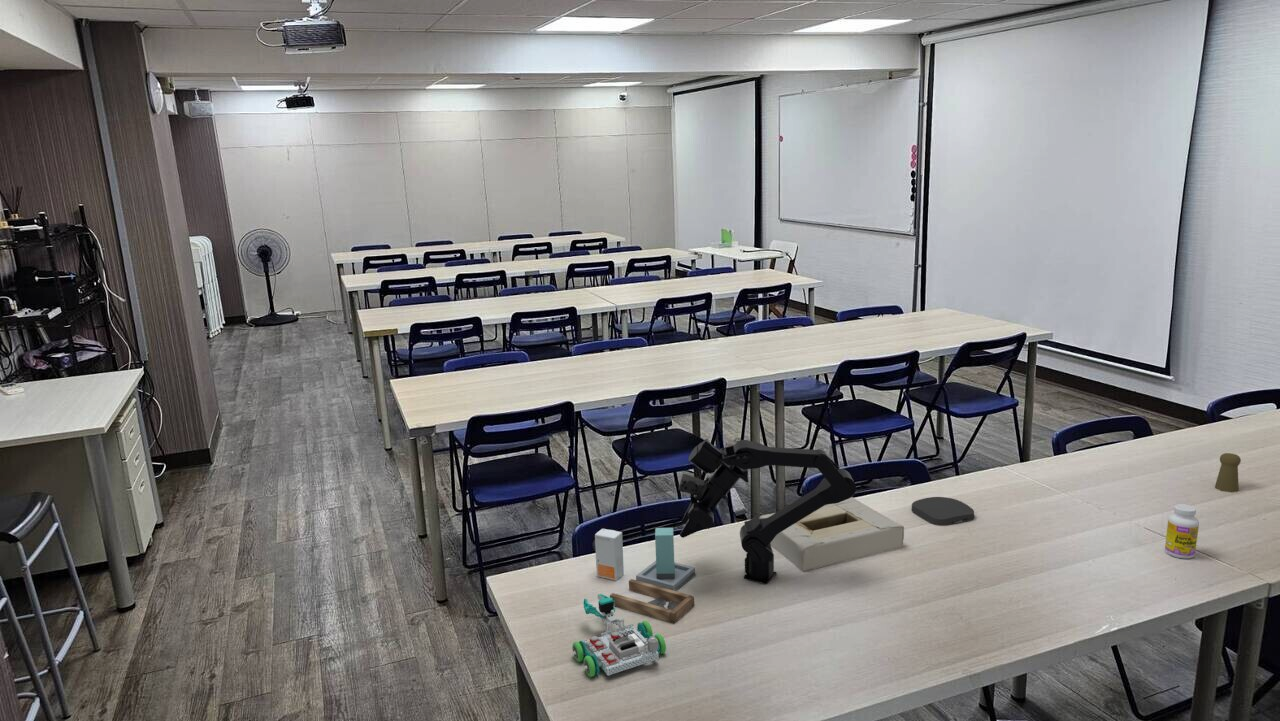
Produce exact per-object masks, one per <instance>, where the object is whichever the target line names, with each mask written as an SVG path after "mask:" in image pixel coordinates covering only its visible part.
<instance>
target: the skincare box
mask: <svg viewBox="0 0 1280 721" xmlns="http://www.w3.org/2000/svg"><path fill="white" fill-rule="evenodd" d="M594 545H595V546H594V547H595V566H596V577H598V578H603V579H608V580H611V581H616V582H617V581H618V580H619V579H620V578H621V577H622V576H624V574H625V573H624V572H625V571H624V570H625V568H624V547H623V532H622V531H618V530H614V529H606V528H601V529H600V530H599V531H596V533H595V534H594Z"/></svg>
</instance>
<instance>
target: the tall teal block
mask: <svg viewBox="0 0 1280 721" xmlns="http://www.w3.org/2000/svg"><path fill="white" fill-rule="evenodd" d="M654 531H655V532H654V533H655V534H654V537H655V538H654V543H655V561H656V577H657V579H658V580H663V579H675V565H674V562H675V545H674V544H675V543H674V542H675V541H674V540H675V539H674V527H655V530H654Z"/></svg>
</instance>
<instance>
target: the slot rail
mask: <svg viewBox="0 0 1280 721" xmlns="http://www.w3.org/2000/svg"><path fill="white" fill-rule="evenodd" d="M628 590H629V591H632V592H635V593H638V594H640V595H641V594H642V595H646V596H648V597H649V596H650V597H652V598H655V599H657V598H660V597H661V598H663V599H664V600H666V602H668V603H669V602H676V603H680V604H679V605H677V606H676V607H675V608H674V609H673V610H669V609H668V608H667V607H665V608H663V607H659V606H656V605H652V604H649V603H648V602H645V601H642V600H638V599H634V598H631V597H627V596H625V595H621V594H617V593H614V592H612V593H611V594H609V597H611V598H612V599H614V604H615V605H614V607H617V608H619V609H620V608H621V609H624V610H627V611H631V612H634V613H637V614H640V615H643V616H647V617H651V618H653V619H658V620H661V621H664V622H666V623H667V622H668V623H670V624H673V625H674V624H676V623H677V622H678V621H679V620H680V619H681V618H682V617H684V615H686V614H687V613H688V612H689V611H690V610H691V609H692V608H693V607H694V606H695V596H694V595H691V594H687V593H684V592H680V591H678V590H677V591H674V590H670V589H666V588H663V587H659V586H655V585H652V584H648V583H645V582H641V581H637V580H636V579H634V578H630V579H629V580H628Z"/></svg>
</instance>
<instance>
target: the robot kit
mask: <svg viewBox="0 0 1280 721" xmlns="http://www.w3.org/2000/svg"><path fill="white" fill-rule="evenodd" d="M597 601H598V606H597V607H595V606H594V605H593V604H590V603H589V601H588V599H587V598H584V599H583V609H584V611H585V615H589V614H591V615H594V616H595V617H597V618H600V619H601V621H602V622H603V623H604V625H606V631H605V632H601V636H599V637H598V636H596V635H593V636H591V637H590V638H589V639H584V640H579V641H574V642H573V643H572V647H571V648H572V654H573V656H574V659H575V660H576V662H578V663H581V662H583V666H584V670H585V673H586V675H587V676H588V677H590V678H593V677H594V676H597V675H599V674H600V668H601V669H602V670H603V672H604V673H605V674H606V675H607V676H611V675H614V674H617V673H620V672H623V671H627V670H629V669H632V668H635V667H638V666H642V665H645V664H647V663H651V662H653V661H656V660H657V661H658V660H659V658H660V657H659V655H664V654H665V653H666V651H667V644H666V641H665V639H664V637H663V635H662V634H660V633H656V634H654V635H653V628H652V626H651V624H650V622H649V621H648V620H642V622H637V625H636V626H637V627H636V628H637V629H636V628H635V627H634V623H631V624H627V625H625V619H624V618H617V617H616V615H615V612H616V608H615V606H614V605H615V604H614V599H612V598H611V597H610V596H609V597H608V596H606V595H604V594H602V593H598V594H597ZM612 625H615V626H618V627H617V628H614V629H612Z"/></svg>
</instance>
